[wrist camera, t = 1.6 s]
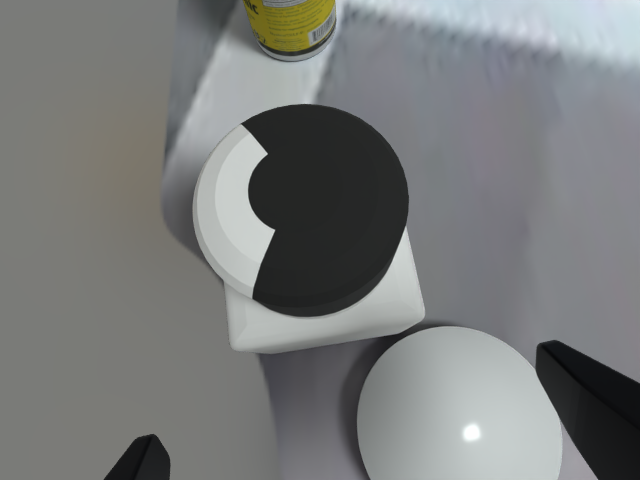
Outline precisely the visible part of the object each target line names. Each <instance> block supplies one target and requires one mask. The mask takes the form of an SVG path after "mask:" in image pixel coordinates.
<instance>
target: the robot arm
mask: <svg viewBox="0 0 640 480" xmlns="http://www.w3.org/2000/svg"><path fill="white" fill-rule="evenodd" d="M535 369H536V374H537V377H538V379H539V381H540V383H541V385H542V387H543V388H544V390H545V392H546V394H547V396H548V398H549V399H550V401H551V403H552V405H553V407H554V409H555V411H556V412H557V414H558V416H559V418H560V420H561V422H562V423H563V425H564V427H565V429H566V431H567V433H568V434H569V436H570V438H571V439H572V441H573V443H574V444H575V446H576V447H577V449H578V451H579V452H580V454H581V455H582V457H583V458H584V459H585V461H586V462H587V464H588V465H589V467H590V468H591V470H592V471H593V473H594V474H595V476H596V477H597V479H598V480H640V383H638V382H636V381H635V380H633V379H631V378H629V377H627V376H625V375H623V374H621V373H619V372H617V371H615V370H613V369H612V368H610V367H608V366H606V365H604V364H602V363H600V362H598V361H596V360H594V359H592V358H591V357H589V356H587V355H585V354H583V353H581V352H579V351H577V350H575V349H573V348H571V347H569V346H568V345H566V344H564V343H562V342H560V341H557V340H551V341H547V342H543V343H540V344H538V346H537V349H536V366H535ZM169 477H170V458H169V455H168V453H167V451H166V450H165V448H164V446H163V445H162V443H161V442H160V440H159V438H158V437H157V436H156V435H154V434H150V435H146V436H142V437H138V438H137V439H135V440H134V441H133V442H132V444H131V445H130V446H129V448H128V449H127V451H126V452H125V453H124V454H123V455H122V457H121V458H120V459H119V460H118V462H117V463H116V465H115V466H114V467H113V468H112V470H111V471H110V472H109V473H108V475H107V476H106V477H105V479H104V480H169V479H170V478H169Z"/></svg>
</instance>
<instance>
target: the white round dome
mask: <svg viewBox="0 0 640 480" xmlns="http://www.w3.org/2000/svg"><path fill="white" fill-rule="evenodd" d="M357 434H358V441H359V448H360V452H361V456H362V459H363V463H364V465H365V468H366V470H367V473H368V475H369V477H370V479H371V480H558V476H559V471H560V467H561V460H562V432H561V426H560V420H559V417H558V414H557V412H556V411H555V409H554V407H553V405H552V403H551V401H550V399H549V398H548V396H547V394H546V392H545V390H544V388H543V387H542V385H541V383H540V381H539V379H538V377H537V374H536V370H535V369H534V368H533V367H532V366H531V365H530V363H529V362H528V361H527V360H526V359H525V358H524V357H523V356H521V355H520V354H519V353H518V352H517V351H516V350H515V349H513V348H512V347H510V346H509V345H507V344H506V343H505V342H503V341H501V340H499V339H497V338H495V337H493V336H491V335H489V334H486V333H484V332H481V331H478V330H474V329H470V328H464V327H456V326H442V327H435V328H429V329H426V330H422V331H418V332H416V333H414V334H411V335H409V336H407V337H405V338H403V339H401V340H400V341H398V342H396V343H395V344H393V345H392V346H391V347H390V348H388V349H387V350H386V351H385V352H384V353H383V354H382V355H381V356H380V357H379V358H378V360H377V361H376V362H375V364H374V365H373V367H372V368H371V370H370V372H369V373H368V375H367V377H366V379H365V382H364V384H363V387H362V390H361V393H360V398H359V402H358V410H357Z"/></svg>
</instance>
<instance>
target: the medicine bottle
mask: <svg viewBox="0 0 640 480" xmlns="http://www.w3.org/2000/svg"><path fill="white" fill-rule="evenodd" d="M408 205H409V195H408V187H407V181H406V178H405V174H404V170H403V168H402V166H401V163H400V161H399V159H398V157H397V155H396V154H395V152H394V150H393V149H392V147H391V146H390V144H389V143H388V142H387V141H386V140H385V139H384V137H383V136H382V135H381V134H380V133H379V132H378V131H376V130H375V129H374V128H373V127H372V126H371V125H369V124H368V123H366V122H365V121H363V120H362V119H360V118H358V117H356V116H354V115H352V114H350V113H348V112H345V111H342V110H339V109H336V108H333V107H328V106H322V105H312V104H298V105H288V106H283V107H277V108H274V109H271V110H268V111H264V112H262V113H260V114H258V115H255V116H253V117H251V118H249V119H248V120H246V121H244V122H243V123H241V124H239V125H238V126H237V127H236V128H234V129H233V130H232V131H230V132H229V133H228V134H227V135H226V136H225V137H224V138H223V139H222V140H221V141H220V142H219V143H218V144H217V146H216V147H215V148H214V150H213V151H212V152H211V153H210V155H209V157H208V158H207V160H206V162H205V164H204V165H203V167H202V170H201V172H200V175H199V177H198V180H197V183H196V187H195V191H194V198H193V223H194V229H195V234H196V237H197V240H198V243H199V246H200V248H201V250H202V252H203V254H204V256H205V258H206V260H207V261H208V263H209V264H210V265H211V267H212V268H213V269H214V271H215V272H216V273H217V274H218V275H219V276H220V277H221V278H222V279H223V280H224V290H225V302H226V312H227V324H228V336H229V344H230V346H231V348H232V349H233V350H235V351H240V352H252V353H265V354H277V353H283V352H289V351H295V350H301V349H307V348H314V347H320V346H326V345H332V344H338V343H344V342H350V341H357V340H363V339H369V338H375V337H381V336H387V335H393V334H399V333H401V332H403V331H404V330H406V329H408V328H410V327H411V326H413V325H415V324H417V323H418V322H420V321H422V320H423V318H424V317H425V308H424V304H423V299H422V295H421V290H420V286H419V281H418V277H417V273H416V268H415V264H414V259H413V255H412V251H411V246H410V242H409V237H408V233H407V229H406V222H407V216H408Z"/></svg>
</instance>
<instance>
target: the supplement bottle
mask: <svg viewBox="0 0 640 480" xmlns="http://www.w3.org/2000/svg"><path fill="white" fill-rule="evenodd" d="M243 2H244V5H245V8H246V11H247V14H248V18H249V21H250V24H251V27H252V30H253V33H254V36H255V38H256V41H257V43H258V44H259V46H260V47H261V48H262V49H263V50H264V51H265V52H266V53H267V54H269V55H270V56H272V57H274V58H277V59H280V60H285V61H299V60H304V59H308V58H310V57H313V56H315V55H316V54H318V53H319V52H321V51H322V50H323V49H324V48H325V47H326V46H327V45H328V44H329V43H330V41H331V40H332V38H333V36H334V33H335V29H336V5H335V0H243Z"/></svg>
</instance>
